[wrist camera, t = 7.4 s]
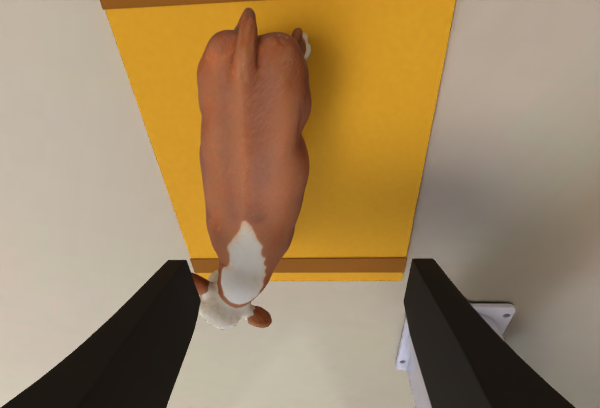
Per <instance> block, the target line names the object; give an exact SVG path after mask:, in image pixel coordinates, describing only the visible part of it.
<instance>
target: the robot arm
mask: <svg viewBox="0 0 600 408" xmlns="http://www.w3.org/2000/svg"><path fill="white" fill-rule="evenodd" d="M200 303H201V299H200V296H199V294H198V291H197V288H196V285H195V283H194V280H193V277H192V274H191V272H190V269H189V266H188V263H187V261H186V260H168V261H167V262H166V263H165V264H164V265H163V266H162V267H161V268H160V269H159V270H158V271H157V272H156V273H155V274H154V275H153V276H152V277H151V278H150V279H149V280H148V281H147V282H146V283H145V284H144V285H143V286H142V287H141V288H140V289H139V290H138V291H137V292H136V293H135V294H134V295H133V296H132V297H131V298H130V299H129V300H128V301H127V302H126V303H125V304H124V305H123V306H122V307H121V308H120V309H119V310H118V311H117V312H116V313H115V314H114V315H113V316H112V317H111V318H110V319H109V320H108V321H107V322H105V323H104V324H103V325H102V326H101V327H100V328H99V329H98V330H97V331H96V332H95V333H94V334H92V335H91V336H90V337H89V338H88V339H87V340H86V341H85V342H84V343H83V344H81V345H80V346H79V347H78V348H77V349H76V350H75V351H73V352H72V353H71V354H70V355H69V356H67V357H66V358H65V359H64V360H63V361H61V362H60V363H59V364H58V365H56V366H55V367H54V368H53V369H51V370H50V371H49V372H48V373H46V374H45V375H44V376H43V377H41V378H40V379H39V380H38V381H36V382H35V383H34V384H32V385H31V386H30V387H28V388H27V389H25V390H24V391H23V392H21V393H20V394H19V395H17V396H16V397H15V398H13V399H12V400H10V401H9V402H8V403H6V404H5V405H4V406H2V407H1V408H166V407H167V404H168V401H169V398H170V395H171V393H172V390H173V387H174V385H175V382H176V379H177V376H178V374H179V371H180V368H181V366H182V363H183V360H184V357H185V355H186V352H187V349H188V346H189V344H190V341H191V338H192V335H193V332H194V329H195V325H196V321H197V317H198V312H199V307H200ZM404 306H405V312H406V319H405V323H404V327H403V332H402V336H401V341H400V345H399V349H398V354H397V358H396V363H395V366H396V369H398V370H407V372H408V377H409V381H410V386H411V390H412V395H413V399H414V404H415V408H575V407H574V406H573V405H572V404H571V403H569V402H568V401H567V400H566V399H565V398H564V397H563V396H561V395H560V394H559V393H558V392H557V391H556V390H555V389H553V388H552V387H551V386H550V385H549V384H548V383H547V382H546V381H545V380H544V379H543V378H542V377H540V376H539V375H538V374H537V373H536V372H535V371H534V370H533V369H532V368H531V367H530V366H529V365H528V364H527V363H526V362H525V361H524V360H523V359H522V358H520V357H519V356H518V355H517V354H516V353H515V352H514V351H513V350H512V348H511V347H510V346H509V345H508V344H507V343H506V342H505V340H504V338H503V336H502V335H503V333H504V331H505V329H506V327H507V326H508V324H509V322H510V320H511V318H512V316H513V314H514V313H515V310H516V309H515V308H514V306H513V305H512V304H470V303H469V302H468V301H467V299H466V298H465V297H464V296H463V295H462V294H461V292H460V291H459V290H458V289H457V288H456V286H455V285H454V284H453V283H452V281H451V280H450V279H449V278H448V276H447V275H446V274H445V273H444V271H443V270H442V269H441V268H440V266H439V265H438V264H437V263H436V261H435V260H434V259H412V263H411V268H410V273H409V278H408V283H407V288H406V292H405V297H404Z"/></svg>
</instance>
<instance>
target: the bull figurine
mask: <svg viewBox="0 0 600 408" xmlns="http://www.w3.org/2000/svg"><path fill="white" fill-rule="evenodd" d="M310 53H311V46H310V44H309V43H308V35H307V34H306V33H303V31H302V29H301V28H295V29H294V31H293V32H292V36H290V35H289V34H286V33H284V32H271V33H266V34H263V35H259V36H258V29H257V24H256V15H255V12H254V11H253V9H252V8H249V7H247V8H246V9H245V10H244V11H243V13H242V15H241V17H240V19H239V21H238V24H237V26H236V27H235V29H234V30H222V31H220V32H217V33H215V34H214V35H213V36H212V37H211V38H210V40H209V41H208V43H207V46H206V48H205V50H204V53H203V55H202V57H201V59H200V61H199V64H198V68H197V86H198V101H199V108H200V112H201V114H202V122H201V139H200V140H201V144H200V152H199V155H200V166H201V173H202V181H203V189H204V197H205V206H206V226H207V230H208V234H209V237H210V240H211V244H212V247H213V249H214V251H215V252H216V254H217V256H218V259H219V269H218V270H217V271H215V272H213V273H212V274H211V275H210V276H209V278H208V280H207V279H205V278H203V277H202V276H199V275H197V274H194V273H191V274H192V277H193V280H194V283H195V285H196V288H197V291H198V294H199V295H200V299H201V303H200V307H199V314H200V315H201V316H203V318H204V320H205V321H206V322H208V323H209V324H210V325H212V326H214V327H217V328H219V329H221V330H224V329H229V328H231V327H234V326H236V324H237V323H238V321H239V320H240V319H241V318H244V319H245V320H247V321H248V323H250V324H251V325H253V326H256V327H260V328H265V327H268V326H269V325H270V324H271V322H272V319H271V316H270V314H269V313H268V312H267V311H266V310H265V309H263V308H261V307H259V306H253V305H251V301H252V300H253V299H255V298H256V297H257V296H258V295H259V294H260V293H261V292H262V290H263V289H264V288H265V287H266V285H267V284H268V282H269V280H270V278H271V276H272V273H273V270H274V269H275V267H276V266H277V264H278V263H279V261H280V260H281V258H282V257H283V256H284V254H285V253H286V252H287V250H288V248H289V247H290V244H291V241H292V238H293V235H294V231H295V224H296V221H297V219H298V216H299V214H300V210H301V207H302V203H303V197H304V192H305V188H306V185H307V181H308V176H309V167H310V166H309V155H308V150H307V147H306V143H305V140H304V138H303V136H302V130H303V128H304V126H305V124H306V122H307V120H308V119H309V116H310V112H311V105H312V99H311V91H310V86H309V70H308V66H307V63H306V61H307V60H308V59H309V57H310Z"/></svg>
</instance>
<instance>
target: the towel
mask: <svg viewBox="0 0 600 408" xmlns="http://www.w3.org/2000/svg"><path fill="white" fill-rule="evenodd" d="M100 2H101V5H102V8H103V10H105V11H106V14H107V17H108V20H109V23H110V26H111V28H112V31H113V34H114V37H115V40H116V43H117V46H118V49H119V52H120V54H121V57H122V60H123V63H124V66H125V69H126V72H127V75H128V78H129V80H130V83H131V86H132V89H133V92H134V95H135V98H136V101H137V104H138V107H139V109H140V112H141V115H142V118H143V121H144V124H145V127H146V130H147V133H148V135H149V138H150V141H151V144H152V147H153V150H154V153H155V156H156V159H157V161H158V164H159V167H160V170H161V173H162V176H163V179H164V182H165V185H166V187H167V190H168V193H169V196H170V199H171V202H172V205H173V208H174V211H175V213H176V216H177V219H178V222H179V225H180V228H181V231H182V234H183V237H184V239H185V242H186V245H187V248H188V251H189V254H190V257H191V259H190V260H191V263H192V266H193V269H194V272H195V273H196V274H197V275H199V276H202V277H203V278H205V279H207V280H208V278H209V276H210V275H211V274H212V273H213V272H215V271H217V270H218V269H219V259H218V256H217V254H216V252H215V251H214V249H213V247H212V244H211V240H210V237H209V234H208V230H207V226H206V206H205V197H204V189H203V181H202V173H201V166H200V155H199V152H200V144H201V140H200V139H201V122H202V114H201V112H200V108H199V101H198V86H197V68H198V64H199V61H200V59H201V57H202V55H203V53H204V50H205V48H206V46H207V43H208V41H209V40H210V38H211V37H212V36H213V35H214V34H215V33H217V32H220V31H222V30H234V29H235V27H236V26H237V24H238V21H239V19H240V17H241V15H242V13H243V11H244V10H245V9H246V8H247V7H249V8H252V9H253V11H254V12H255V15H256V24H257V29H258V36H259V35H263V34H266V33H271V32H284V33H286V34H289V35H290V36H292V32H293V31H294V29H295V28H301V29H302V31H303V33H306V34H307V35H308V43H309V44H310V46H311V53H310V57H309V59H308V60H307V61H306V63H307V66H308V70H309V86H310V91H311V99H312V105H311V112H310V116H309V119H308V120H307V122H306V124H305V126H304V128H303V130H302V136H303V138H304V140H305V143H306V147H307V150H308V155H309V166H310V167H309V176H308V181H307V185H306V188H305V192H304V197H303V203H302V207H301V210H300V214H299V216H298V219H297V221H296V224H295V231H294V235H293V238H292V241H291V244H290V247H289V248H288V250H287V252H286V253H285V254H284V256H283V257H282V258H281V260H280V261H279V263H278V264H277V266H276V267H275V269H274V270H273V273H272V276H271V278H270V280H269V281H401V280H402V276H403V273H404V270H405V265H406V260H407V257H406V256H407V250H408V245H409V240H410V235H411V230H412V225H413V220H414V214H415V209H416V204H417V199H418V194H419V189H420V184H421V178H422V173H423V168H424V163H425V158H426V153H427V147H428V142H429V137H430V132H431V127H432V122H433V117H434V111H435V106H436V101H437V96H438V91H439V86H440V81H441V75H442V70H443V65H444V60H445V55H446V50H447V44H448V39H449V34H450V29H451V24H452V19H453V14H454V8H455V3H456V0H100Z"/></svg>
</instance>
